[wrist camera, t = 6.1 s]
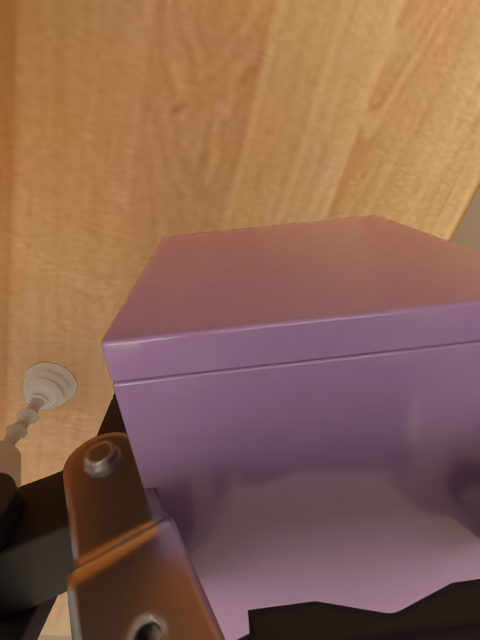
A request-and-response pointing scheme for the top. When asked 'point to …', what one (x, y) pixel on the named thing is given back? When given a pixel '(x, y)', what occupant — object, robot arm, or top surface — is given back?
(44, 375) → the chalice
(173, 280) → the purple lidded box
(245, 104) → the top surface
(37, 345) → the top surface
